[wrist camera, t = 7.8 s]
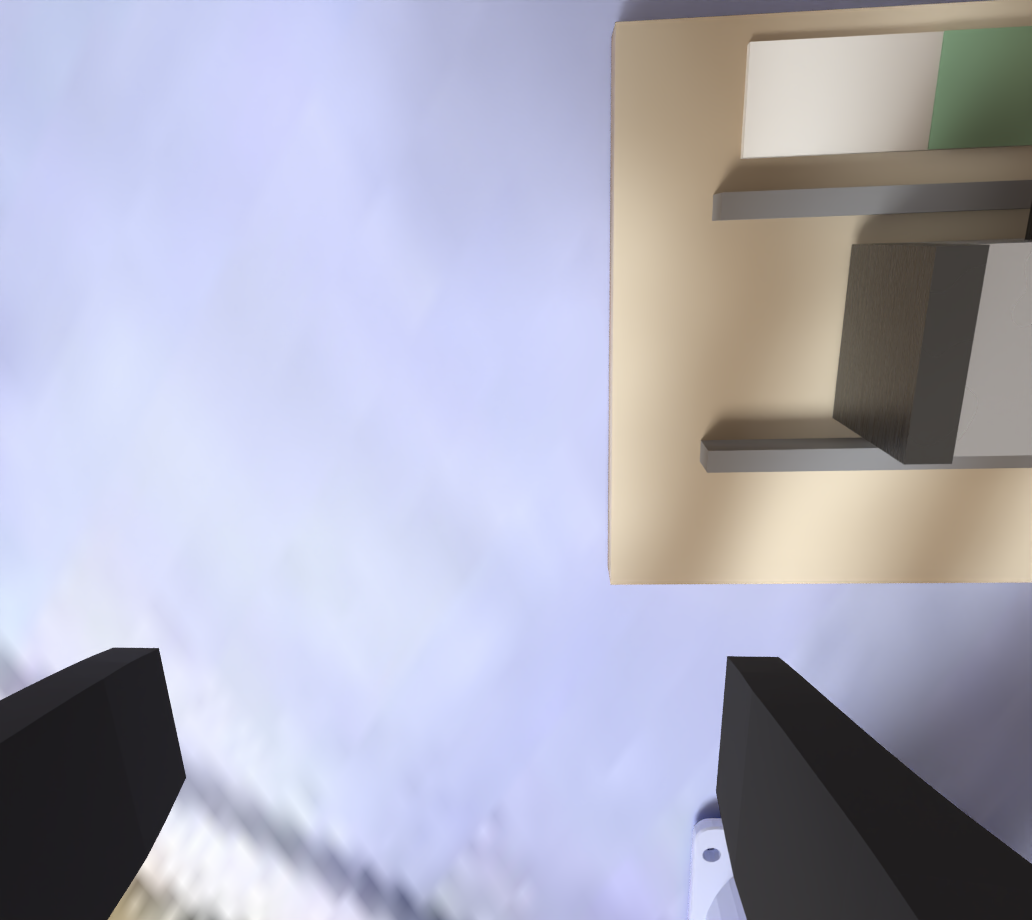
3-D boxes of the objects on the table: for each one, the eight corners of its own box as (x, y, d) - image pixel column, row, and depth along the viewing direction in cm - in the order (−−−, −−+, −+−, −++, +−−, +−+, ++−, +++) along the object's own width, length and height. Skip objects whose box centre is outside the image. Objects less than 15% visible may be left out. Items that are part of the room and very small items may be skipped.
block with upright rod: (832, 417, 15) (903, 464, 12) (870, 76, 13) (969, 26, 10) (1064, 413, 14) (1198, 459, 11) (1141, 62, 12) (1330, 7, 9)
